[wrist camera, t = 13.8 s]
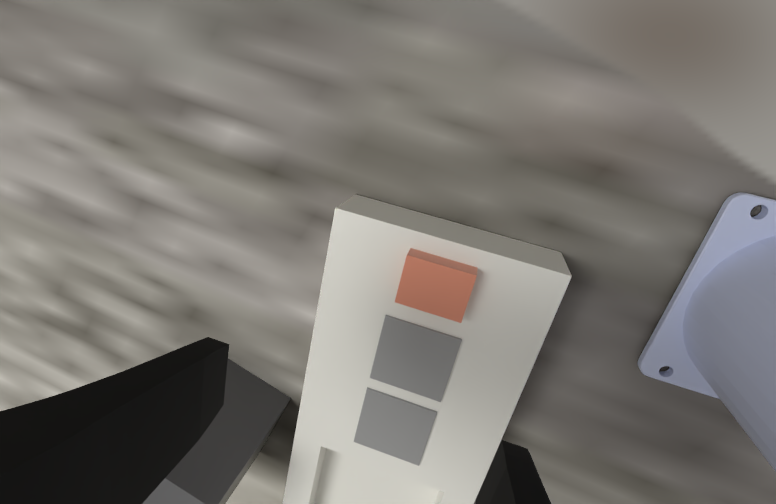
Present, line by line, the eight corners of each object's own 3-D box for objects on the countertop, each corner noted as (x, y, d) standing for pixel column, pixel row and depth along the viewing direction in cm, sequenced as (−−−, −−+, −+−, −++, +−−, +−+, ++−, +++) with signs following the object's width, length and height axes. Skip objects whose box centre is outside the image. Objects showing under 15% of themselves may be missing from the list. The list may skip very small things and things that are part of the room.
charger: (291, 398, 23) (214, 509, 17) (260, 451, 25) (180, 569, 19) (215, 350, 24) (111, 443, 17) (190, 407, 26) (88, 509, 19)
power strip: (561, 252, 17) (576, 285, 14) (427, 578, 26) (417, 644, 22) (355, 194, 19) (328, 213, 15) (291, 523, 27) (264, 578, 24)
